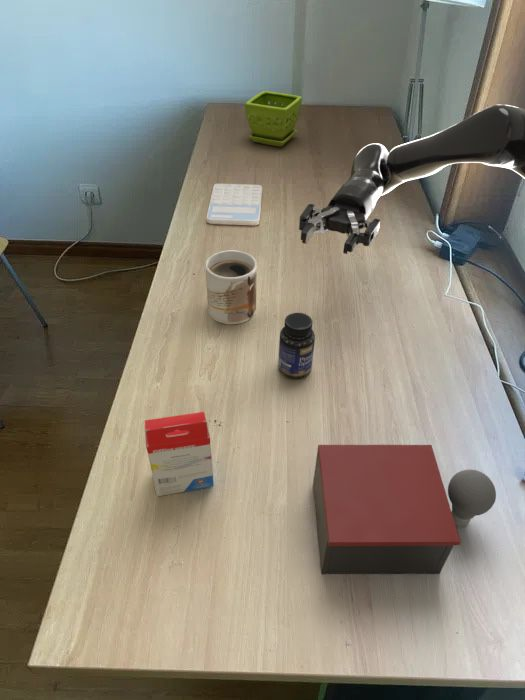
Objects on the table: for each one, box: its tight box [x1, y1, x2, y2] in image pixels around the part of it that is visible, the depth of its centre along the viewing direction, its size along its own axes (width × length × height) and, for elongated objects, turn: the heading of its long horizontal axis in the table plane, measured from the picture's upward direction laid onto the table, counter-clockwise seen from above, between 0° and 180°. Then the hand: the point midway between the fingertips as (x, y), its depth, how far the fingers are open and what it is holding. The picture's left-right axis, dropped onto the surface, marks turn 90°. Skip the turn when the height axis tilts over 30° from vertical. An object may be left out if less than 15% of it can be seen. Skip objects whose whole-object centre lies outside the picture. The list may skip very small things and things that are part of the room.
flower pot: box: [244, 90, 303, 148], centre depth 177 cm, size 14×14×13 cm
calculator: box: [205, 183, 263, 226], centre depth 146 cm, size 13×20×2 cm, turn 178°
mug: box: [204, 249, 258, 325], centre depth 111 cm, size 10×12×11 cm
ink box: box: [144, 411, 215, 497], centre depth 79 cm, size 8×5×15 cm, turn 102°
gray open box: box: [312, 450, 454, 575], centre depth 75 cm, size 14×16×9 cm
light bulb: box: [447, 468, 497, 528], centre depth 76 cm, size 6×6×10 cm
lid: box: [317, 444, 461, 547], centre depth 72 cm, size 14×16×1 cm
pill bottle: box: [277, 312, 316, 380], centre depth 98 cm, size 6×6×11 cm
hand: (324, 243), depth 96 cm, fingers open, 7 cm apart
